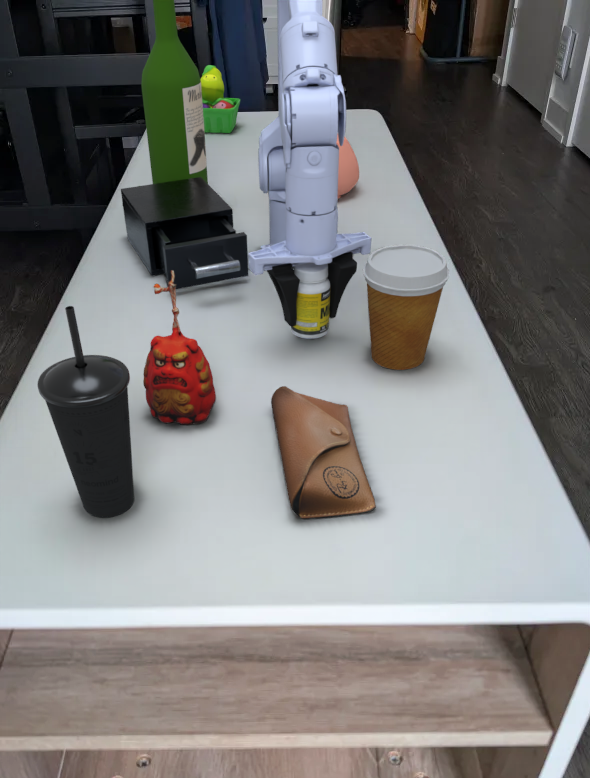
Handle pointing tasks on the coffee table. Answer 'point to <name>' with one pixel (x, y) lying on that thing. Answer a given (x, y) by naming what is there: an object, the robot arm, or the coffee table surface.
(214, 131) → the fruit basket
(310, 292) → the supplement bottle
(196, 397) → the red clay folk toy
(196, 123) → the wine bottle
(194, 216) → the black drawer box
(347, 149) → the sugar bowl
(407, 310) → the disposable coffee cup
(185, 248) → the drawer
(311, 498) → the sunglasses case
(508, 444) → the coffee table surface
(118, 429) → the drinking cup
